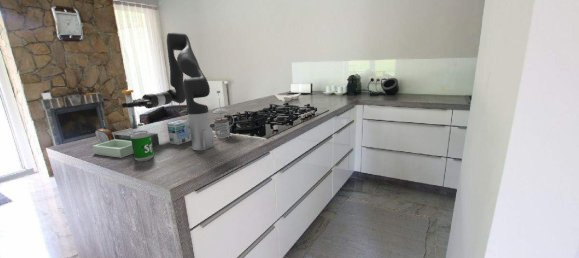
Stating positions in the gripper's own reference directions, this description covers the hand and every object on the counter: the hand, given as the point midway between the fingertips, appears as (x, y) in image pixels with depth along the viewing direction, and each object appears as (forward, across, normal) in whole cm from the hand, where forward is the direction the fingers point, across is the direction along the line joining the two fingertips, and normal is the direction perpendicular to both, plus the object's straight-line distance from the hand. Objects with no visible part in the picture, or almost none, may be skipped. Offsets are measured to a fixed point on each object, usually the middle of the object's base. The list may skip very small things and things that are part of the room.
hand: (124, 105), depth 133 cm
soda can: (+11, +21, +22) cm, 32 cm away
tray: (+8, 0, +21) cm, 22 cm away
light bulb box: (-15, +18, +21) cm, 32 cm away
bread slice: (+1, -18, +21) cm, 28 cm away
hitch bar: (-3, 0, +21) cm, 21 cm away
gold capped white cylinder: (-3, 0, +12) cm, 12 cm away
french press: (-30, +34, +22) cm, 50 cm away
